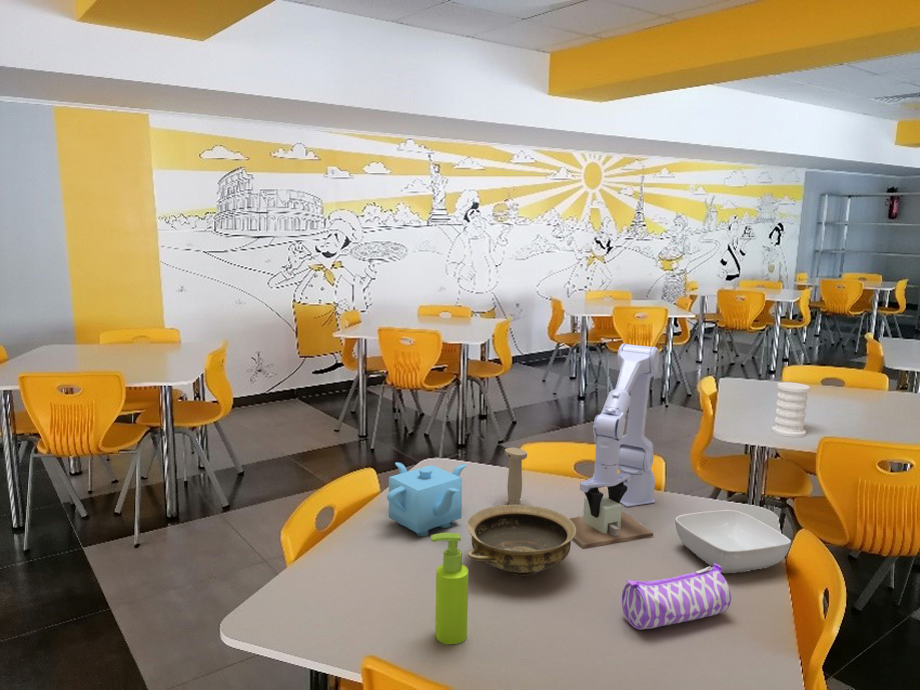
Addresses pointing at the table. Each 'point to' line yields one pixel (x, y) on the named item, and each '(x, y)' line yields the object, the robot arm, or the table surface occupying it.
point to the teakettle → (425, 497)
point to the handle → (515, 474)
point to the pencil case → (676, 598)
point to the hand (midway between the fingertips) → (603, 513)
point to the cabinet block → (603, 515)
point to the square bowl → (732, 540)
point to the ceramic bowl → (520, 538)
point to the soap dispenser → (451, 592)
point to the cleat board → (609, 532)
